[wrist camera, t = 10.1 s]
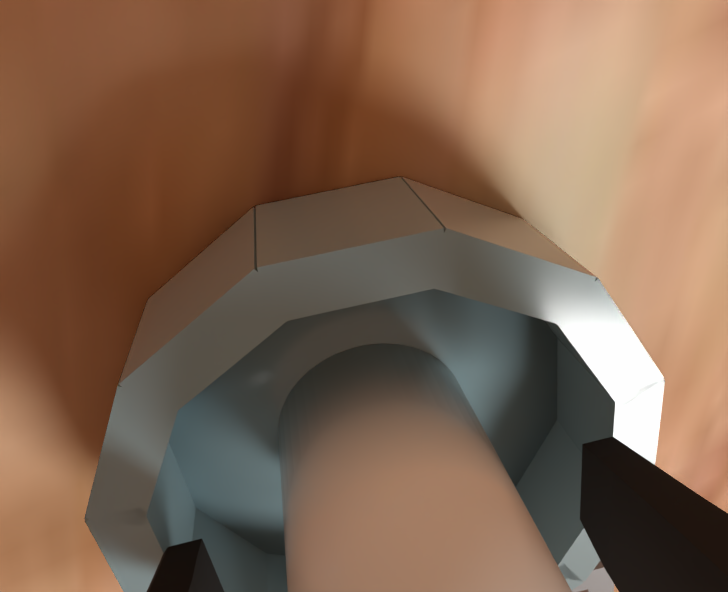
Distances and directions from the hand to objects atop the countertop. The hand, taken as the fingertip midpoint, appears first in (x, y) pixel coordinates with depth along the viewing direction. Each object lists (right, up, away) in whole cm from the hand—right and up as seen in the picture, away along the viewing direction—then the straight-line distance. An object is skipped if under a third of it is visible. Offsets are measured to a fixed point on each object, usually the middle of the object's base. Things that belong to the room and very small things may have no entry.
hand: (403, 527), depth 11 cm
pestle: (-1, +1, +3) cm, 3 cm away
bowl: (-1, +2, +3) cm, 4 cm away
